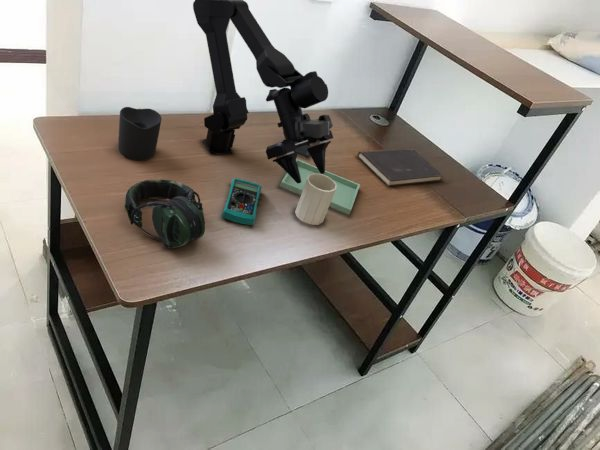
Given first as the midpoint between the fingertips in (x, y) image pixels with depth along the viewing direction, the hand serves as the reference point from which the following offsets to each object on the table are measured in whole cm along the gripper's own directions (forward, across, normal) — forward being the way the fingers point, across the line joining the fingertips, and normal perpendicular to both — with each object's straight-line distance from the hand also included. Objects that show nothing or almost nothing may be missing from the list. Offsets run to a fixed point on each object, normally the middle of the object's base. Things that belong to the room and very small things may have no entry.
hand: (311, 178), depth 122 cm
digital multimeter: (+1, -12, +13) cm, 18 cm away
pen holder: (-19, -21, +33) cm, 44 cm away
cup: (+9, 0, +5) cm, 10 cm away
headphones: (-1, -32, +15) cm, 36 cm away
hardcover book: (+8, +48, +6) cm, 49 cm away
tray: (+4, +13, +9) cm, 16 cm away
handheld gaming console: (-8, +24, +22) cm, 34 cm away
